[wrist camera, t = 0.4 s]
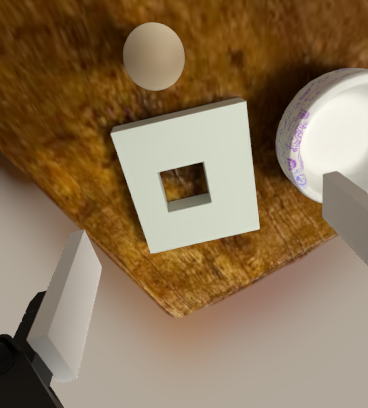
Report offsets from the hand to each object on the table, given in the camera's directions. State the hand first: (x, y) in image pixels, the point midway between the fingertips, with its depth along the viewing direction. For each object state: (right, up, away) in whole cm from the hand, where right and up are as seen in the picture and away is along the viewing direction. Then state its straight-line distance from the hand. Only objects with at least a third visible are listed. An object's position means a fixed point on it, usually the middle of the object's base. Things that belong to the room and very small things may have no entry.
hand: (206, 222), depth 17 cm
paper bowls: (+17, +11, +24) cm, 31 cm away
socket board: (0, +5, +25) cm, 25 cm away
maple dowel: (-5, +18, +17) cm, 26 cm away
